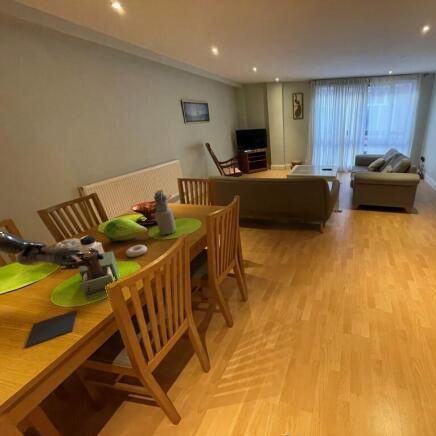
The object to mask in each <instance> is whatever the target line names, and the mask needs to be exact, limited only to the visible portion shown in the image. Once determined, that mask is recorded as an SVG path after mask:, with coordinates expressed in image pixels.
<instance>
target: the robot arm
mask: <svg viewBox="0 0 436 436" xmlns="http://www.w3.org/2000/svg"><path fill="white" fill-rule="evenodd" d="M89 252H96V254H97V257H98V259H99V260H102V259H104V257H103V255H102V254H99V251H98V250H96V249H93V248H89V251H86V252H85V251H82V252H80V251H78V250H77V249H72V248H62V247H58V248H56V247H55V246H47V245H46V244H45V243H44V242H42V241H35V240H28V239H24V238H21V237H19V236H16V235H13V234H11V233H9V232H6V231H2V230H0V253H4V254H6V255H9V256H15V255H17V256H16V257H15V260H16V262H17V263H18V264H19V265H22V266H27V267H29V266H38V265H43V264H47V265H48V264H49V265H54V266H59V267H60V269H61V270H65V271H67V270H77V269H79V268H80V267H82V266H92V265H93V264H92V262H91V261H87V260H84V259H83V255H84V254H86V253H89Z"/></svg>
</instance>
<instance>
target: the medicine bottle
mask: <svg viewBox="0 0 436 436" xmlns="http://www.w3.org/2000/svg"><path fill="white" fill-rule="evenodd" d="M79 239H80V242H81V245H82V246H81V247H79V248H78V250H79V251H80V252H82V251H85V252H86V251H89V248H93V249H96V250H98V251H99V254H102V253H105V250H104V247H103V245H102V242H99V241H98V242H97V241H96V238H95V236H94V235H84V236H83V237H80V238H79Z"/></svg>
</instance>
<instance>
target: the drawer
mask: <svg viewBox="0 0 436 436" xmlns="http://www.w3.org/2000/svg"><path fill="white" fill-rule="evenodd" d="M102 270H103V273H104V276H103V277H100V278H96V279H93V280H92V279H91V277H90V274H89V272H84V277H83V280H82V282H79V287H80V289H81V292H82V294H83V297H84V298H85V301H87V300H92V299H94V298H97V297H101V296H104V295H108V293H106V289H105V286H106V285H107V284H109V283H112V282H114V274H113V271H112V268H111V265H110V266H107V267H103V268H102ZM114 283H115V282H114Z"/></svg>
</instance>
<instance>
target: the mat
mask: <svg viewBox="0 0 436 436" xmlns="http://www.w3.org/2000/svg"><path fill="white" fill-rule="evenodd" d="M77 311H78V310H77V309H74V310H71V311H68V312H65V313H62V314H59V315H55V316H53V317H50V318H47V319H43V320H40V321H38V322H34V323H33V324H32V327H31V330H30V332H29V334H28V337H27V340H26V342H25V345H24V348H25V349H27V348H29V347H33V346H35V345H38V344H41V343H43V342H46V341H49V340H52V339H55V338H58V337H60V336H64V335H66V334H69V333H72V332H73V331H74V326H75V322H76V316H77Z"/></svg>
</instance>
